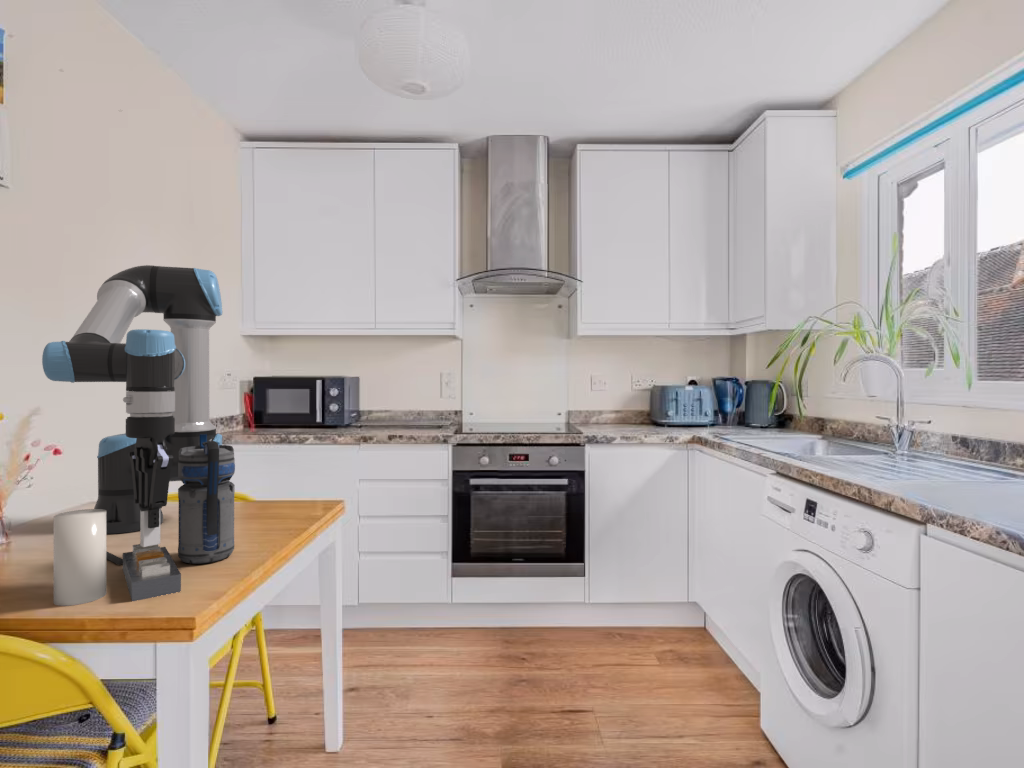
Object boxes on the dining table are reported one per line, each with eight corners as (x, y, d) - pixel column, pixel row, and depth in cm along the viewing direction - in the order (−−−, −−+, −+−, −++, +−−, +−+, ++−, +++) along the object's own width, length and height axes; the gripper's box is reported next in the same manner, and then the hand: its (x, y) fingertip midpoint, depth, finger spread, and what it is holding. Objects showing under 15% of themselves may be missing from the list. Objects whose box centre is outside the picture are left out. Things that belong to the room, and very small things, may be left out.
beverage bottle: (183, 573, 106) (184, 440, 106) (174, 555, 117) (174, 435, 117) (242, 562, 113) (242, 437, 113) (227, 547, 123) (228, 432, 123)
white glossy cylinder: (47, 599, 93) (47, 514, 93) (97, 586, 99) (97, 507, 99) (61, 609, 89) (61, 521, 89) (113, 595, 95) (113, 512, 95)
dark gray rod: (96, 555, 117) (96, 549, 117) (103, 553, 118) (103, 548, 118) (117, 566, 110) (117, 559, 110) (124, 564, 111) (124, 558, 111)
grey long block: (122, 571, 108) (122, 545, 108) (165, 564, 113) (165, 539, 113) (131, 604, 93) (132, 573, 93) (180, 594, 97) (181, 565, 97)
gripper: (112, 414, 103) (112, 543, 103) (142, 417, 96) (142, 556, 96) (157, 412, 109) (157, 534, 110) (189, 415, 102) (188, 546, 102)
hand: (150, 544), depth 103 cm, fingers closed
